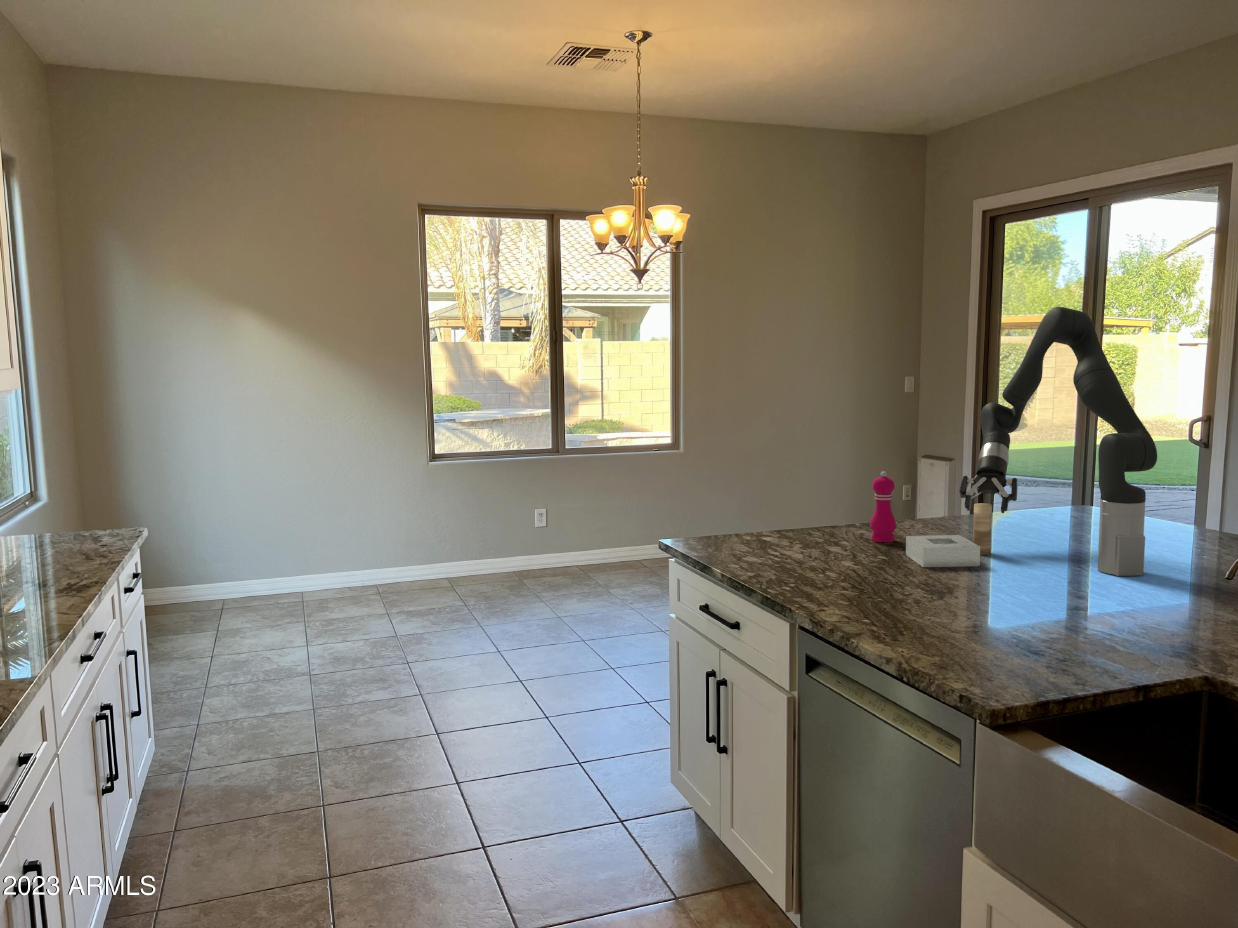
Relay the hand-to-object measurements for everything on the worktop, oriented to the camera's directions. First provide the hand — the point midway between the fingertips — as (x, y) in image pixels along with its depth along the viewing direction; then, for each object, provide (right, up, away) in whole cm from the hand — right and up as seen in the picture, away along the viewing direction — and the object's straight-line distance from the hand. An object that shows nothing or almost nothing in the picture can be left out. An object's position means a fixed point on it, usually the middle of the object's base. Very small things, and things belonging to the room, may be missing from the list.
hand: (985, 510), depth 230 cm
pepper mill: (-22, -10, +16) cm, 29 cm away
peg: (-2, -11, -2) cm, 11 cm away
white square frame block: (-15, -12, -9) cm, 21 cm away
